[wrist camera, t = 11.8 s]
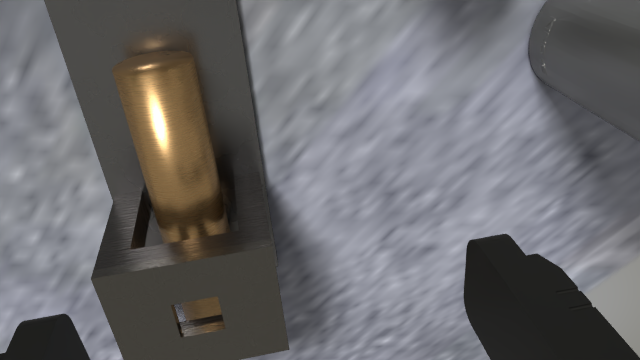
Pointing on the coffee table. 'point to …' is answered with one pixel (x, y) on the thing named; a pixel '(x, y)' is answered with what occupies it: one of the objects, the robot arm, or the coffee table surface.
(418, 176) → the coffee table surface
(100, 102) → the dark grey holder
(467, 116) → the coffee table surface
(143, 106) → the tube
